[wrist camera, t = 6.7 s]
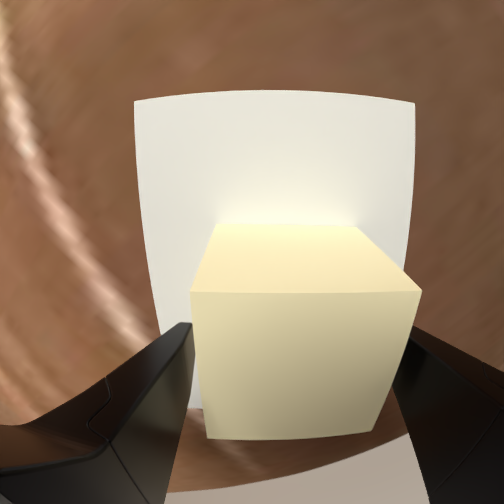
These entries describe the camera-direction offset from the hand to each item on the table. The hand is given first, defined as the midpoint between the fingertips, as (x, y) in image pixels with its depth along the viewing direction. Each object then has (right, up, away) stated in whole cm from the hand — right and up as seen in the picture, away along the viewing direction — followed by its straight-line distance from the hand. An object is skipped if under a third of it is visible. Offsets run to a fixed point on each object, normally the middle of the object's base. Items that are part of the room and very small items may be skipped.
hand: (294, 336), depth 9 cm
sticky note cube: (0, +1, +3) cm, 3 cm away
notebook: (0, +2, +5) cm, 6 cm away
